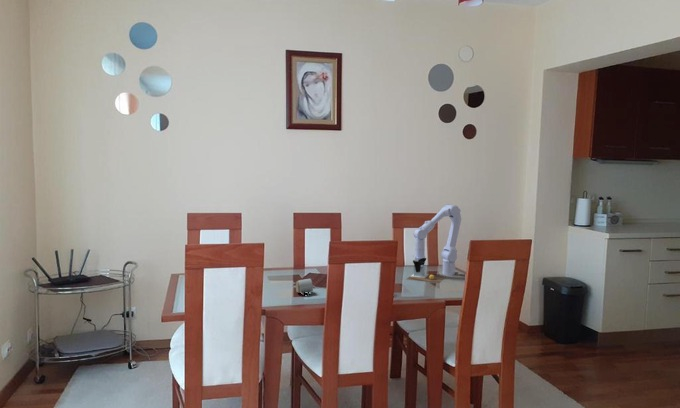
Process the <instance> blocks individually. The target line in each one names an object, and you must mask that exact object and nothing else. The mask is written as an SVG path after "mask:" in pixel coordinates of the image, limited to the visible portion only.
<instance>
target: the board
mask: <svg viewBox="0 0 680 408" xmlns="http://www.w3.org/2000/svg"><path fill="white" fill-rule="evenodd" d="M430 275H431V274H429V275H428V276H427V277H426V278H417V277H410V276H409V277H407V278H406V279H405V280H407V281H417V282H425V283H426V282H427V283H437V284H440V283H441V282H442V281H443V280H445V278H446V276H447V275H437V274H433V275H434V279H433V280H431V279H430V278H429V276H430Z"/></svg>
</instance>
